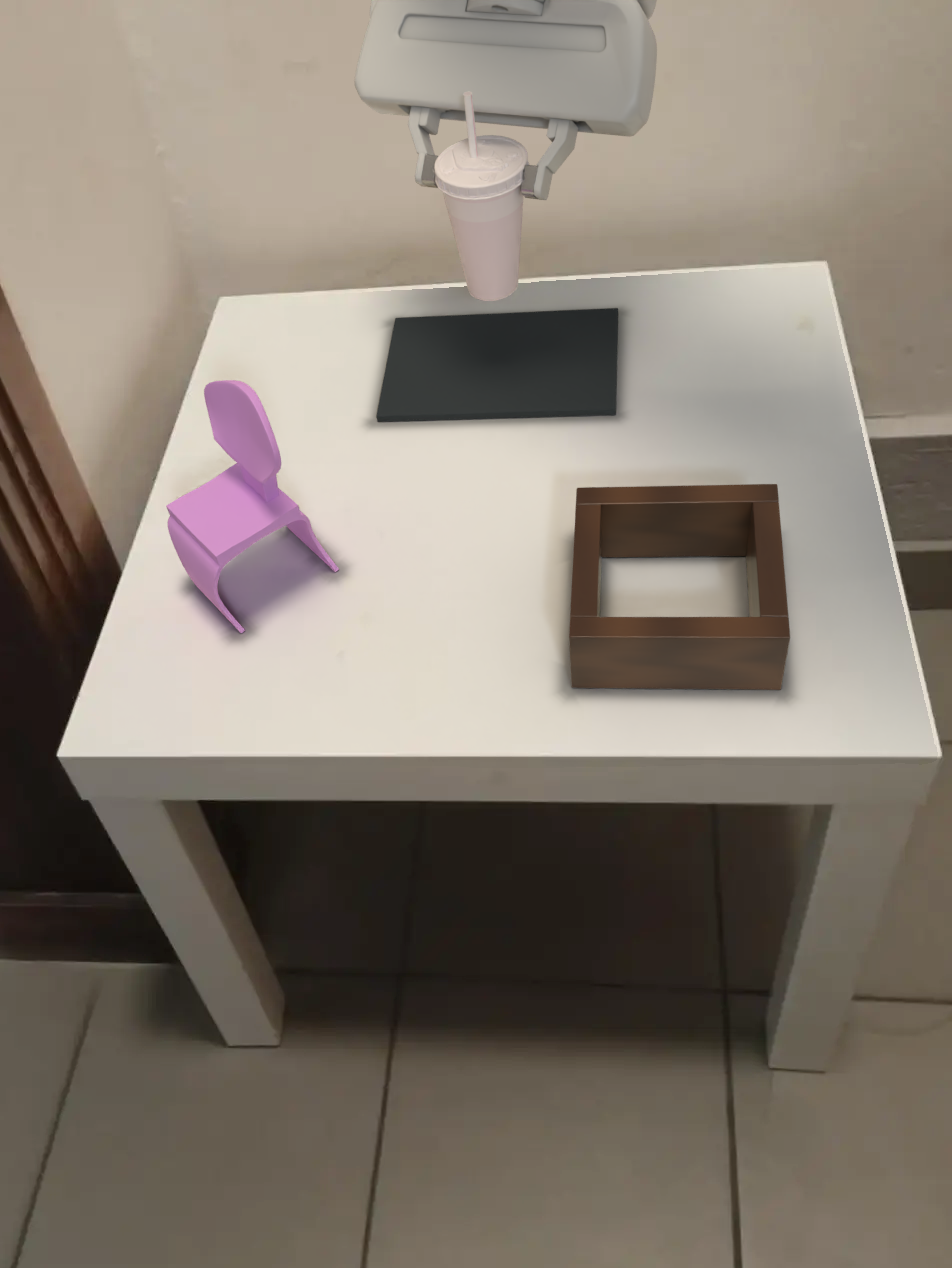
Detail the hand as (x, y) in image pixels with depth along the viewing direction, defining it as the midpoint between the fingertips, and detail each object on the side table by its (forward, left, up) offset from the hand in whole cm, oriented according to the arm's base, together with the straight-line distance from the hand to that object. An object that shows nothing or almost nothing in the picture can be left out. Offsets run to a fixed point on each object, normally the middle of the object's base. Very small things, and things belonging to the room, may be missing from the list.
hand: (480, 191), depth 83 cm
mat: (0, -1, -15) cm, 15 cm away
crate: (-13, +24, -15) cm, 32 cm away
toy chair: (+15, +21, -15) cm, 30 cm away
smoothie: (0, -1, -8) cm, 8 cm away
